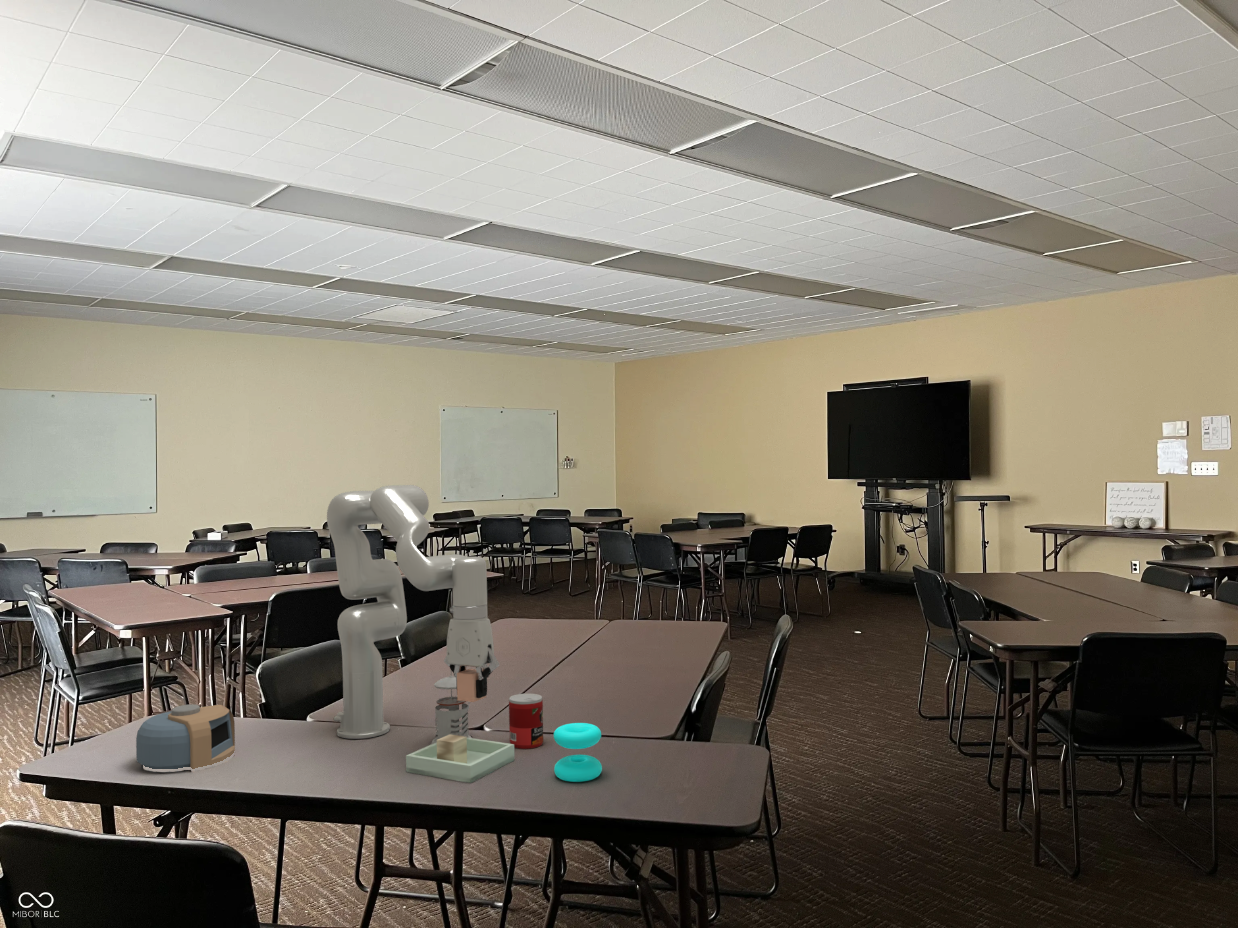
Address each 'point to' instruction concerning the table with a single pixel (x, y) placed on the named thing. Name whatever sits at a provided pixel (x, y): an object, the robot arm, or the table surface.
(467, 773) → the tray
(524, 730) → the canned food
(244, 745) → the table surface
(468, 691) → the terracotta block
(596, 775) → the donuts
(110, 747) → the table surface
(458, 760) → the birch block
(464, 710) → the french press
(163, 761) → the alarm clock
